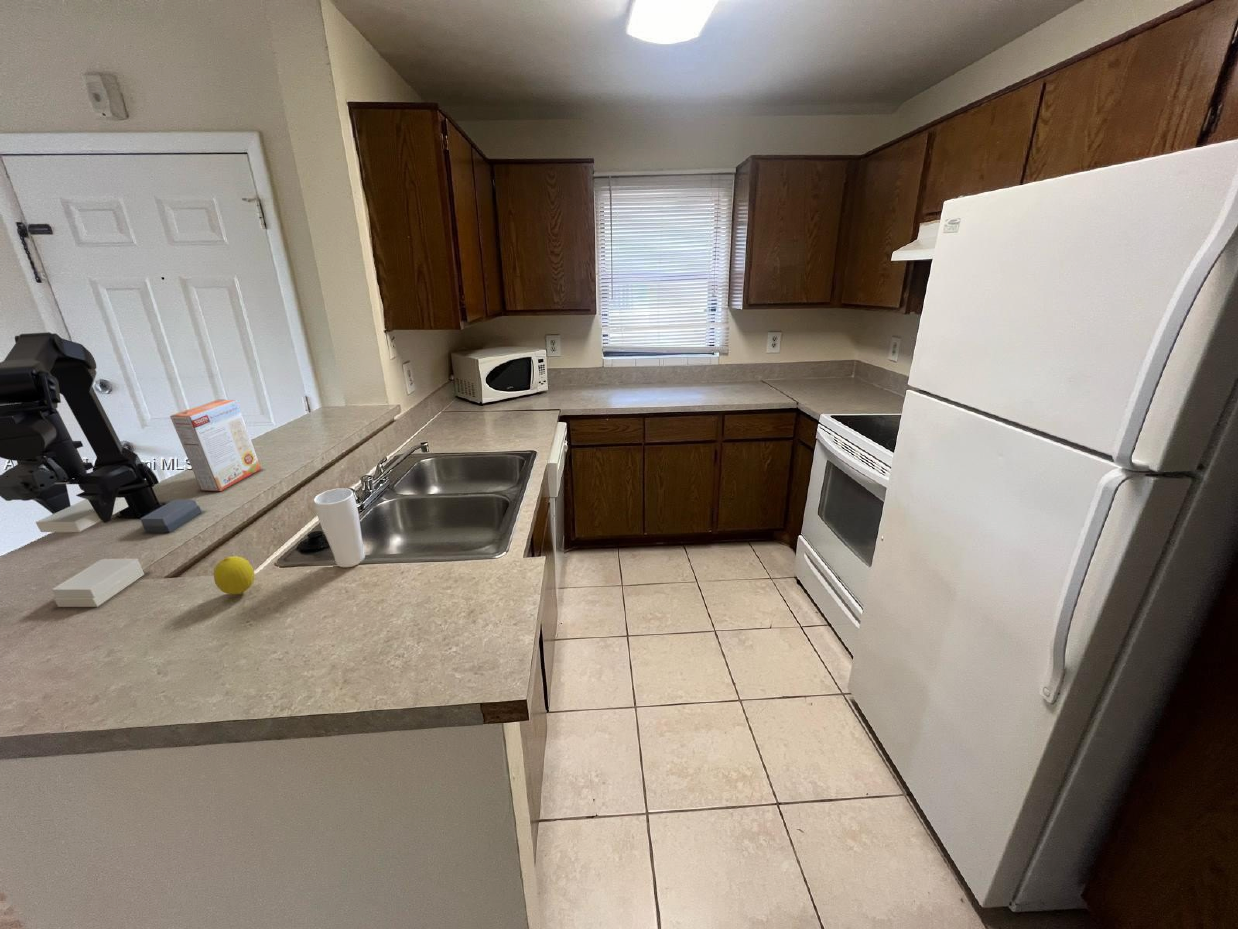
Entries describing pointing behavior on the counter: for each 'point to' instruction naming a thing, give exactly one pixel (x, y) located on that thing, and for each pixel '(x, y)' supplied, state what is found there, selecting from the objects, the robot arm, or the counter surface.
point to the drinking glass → (341, 525)
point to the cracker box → (216, 444)
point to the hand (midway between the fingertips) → (88, 521)
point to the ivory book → (76, 517)
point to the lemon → (233, 575)
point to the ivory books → (97, 583)
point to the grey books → (170, 516)
